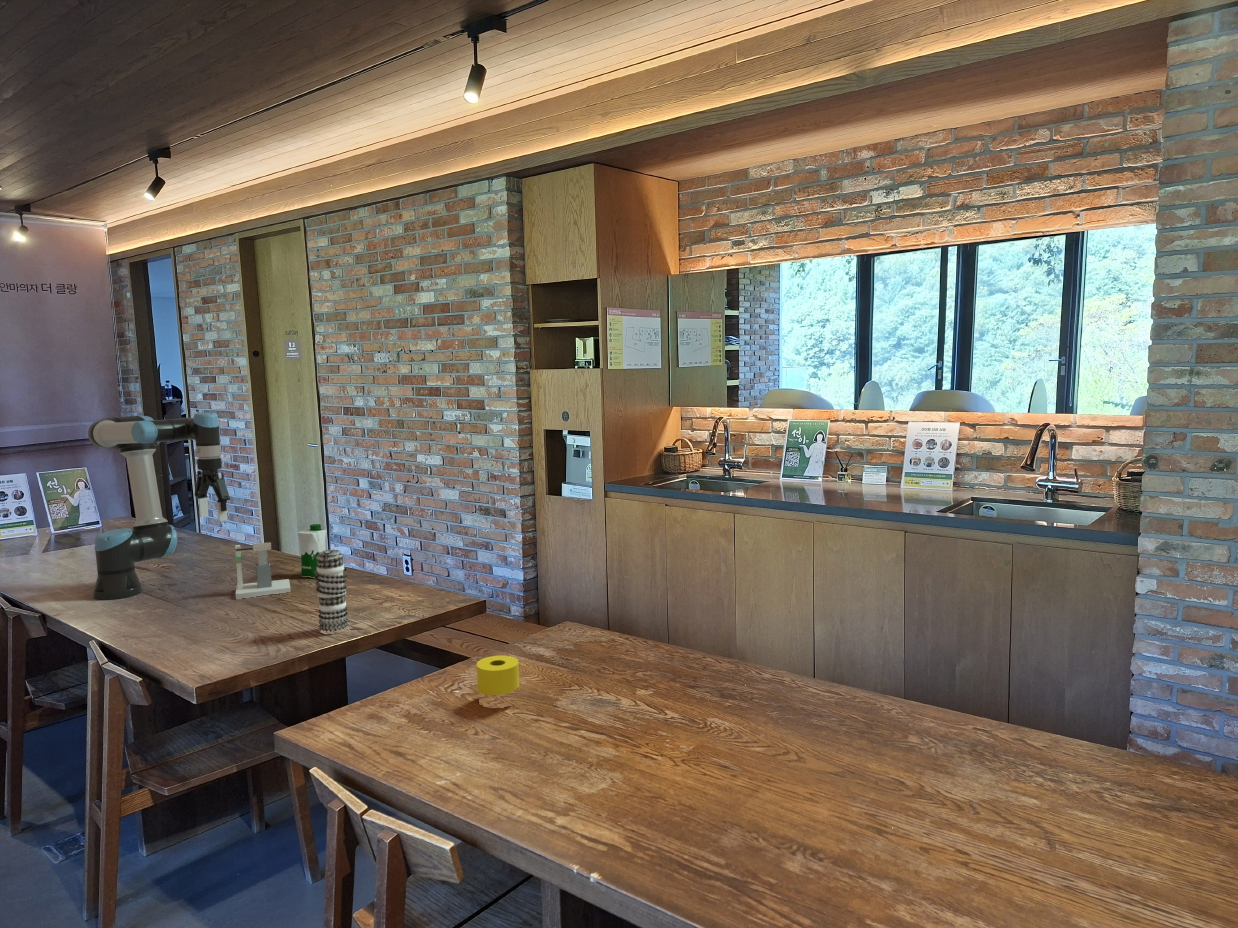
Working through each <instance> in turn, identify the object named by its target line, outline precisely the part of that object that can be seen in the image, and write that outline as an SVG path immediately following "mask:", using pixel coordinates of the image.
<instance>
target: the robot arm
mask: <svg viewBox="0 0 1238 928" xmlns="http://www.w3.org/2000/svg"><path fill="white" fill-rule="evenodd" d="M87 438H88V440H89V442H90V443H91V444H92V445H93V446H95V447H97V448H100V449H105V450H119V451H120V455H122V456H123V457H124V458H125V459H126V464H127V470H128V471H127V472H128V477H129V484H130V490H131V496H132V502H133V508H134V514H135V523H134V524H133V525H132V529H133V530H132V529H131V528H130V527H129V528H127V527H124V528H115V529H111V530H107V531H103V532H102V533H99V534H98V535H97V536H96V537H95V539H94V552H95V561H96V570H97V577H96V581H95V585H94V588H93V598H94V599H96V600H117V599H124V598H129V597H132V596H136V595H138V594H141V593H142V592H143V584H142V582H141V581H140V577H139V576H138V574H137V572H136V567H135V565H136V563H138V562H139V563H140V562H145V561H149V560H150V561H151V560H154V559H162V558H164V557H168V556H170V555H172V554H173V553H174V552H175V550H176V548H177V544H178V533H177V530H176V528H175V527H174V525H171V524H169V522H168V520H167V519H166V518H165V517H164V516H163V511H162V507H161V506H162V505H161V500H160V493H159V488H158V483H157V482H158V481H157V477H156V475H157V474H156V471H155V470H156V469H155V468H156V467H155V465H154V464H155V463H154V462H155V461H154V457H153V455H154V453H155V452H156V451H157V446H158V445H159V444H160V443H162V442H163V443H165V442H177V441H179V442H180V441H190V440H192V441H193V440H194V441H195V450H194V451H195V452H196V458H197V459H196V466H197V472H196V476H197V477H196V482H195V489H194V496H195V497H196V498H197V501H198V512H199V518H205V517H209V515H210V514H209V504H208V495H207V494H208V491H209V488H210V487H211V488H212V489H213V492H214V494H215V496H216V498H217V501H216V505H217V513H218V514H217V515H218V522H224V521H228V507H227V506H228V505H227V504H228V503H227V502H228V501H230V500H231V497H230V494H229V491H228V486H227V484H226V480H225V476H224V472H219V469H222V467H223V466H222V465H223V464H222V463H223V462H222V458H221V456H222V450H221V449H222V447H221V437H220V422H219V415H218V414H217V413H216V412H196V413H194V414H193V417H180V418H171V419H170V418H169V419H167V418H166V419H153V417H151V416H148V415H131V416H119V417H118V416H116V417H115V416H114V417H105V418H100V419H98V420H95V421H94V422H92V423H91V425H89V427H88V430H87Z"/></svg>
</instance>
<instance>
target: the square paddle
mask: <svg viewBox="0 0 1238 928" xmlns="http://www.w3.org/2000/svg"><path fill="white" fill-rule="evenodd" d="M250 550H251V551H252V552H257V559H258V564H259V566H267V565H268V563H269V562H268V551H270V550H272V542H260V543H252V547H245V548H240V549H236V551H242V552H243V551H250Z"/></svg>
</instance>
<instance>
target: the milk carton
mask: <svg viewBox="0 0 1238 928" xmlns="http://www.w3.org/2000/svg"><path fill="white" fill-rule="evenodd" d="M326 536H327V529H325V528H324V529H322V525H321V524H320V523H314V524H309V529H305V530H301V531H297V537H298V539H299V544H300V545H299V546H300V559H301V566H300V568H301V570H300V571H301V574H300V577H301V576H311V577H315V576H316V575H315V573H314V572H315V571H316V570H317V558H316V557H317V556H318V555H319V554H320V552H322V551H325V550H327V548H326Z"/></svg>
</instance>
